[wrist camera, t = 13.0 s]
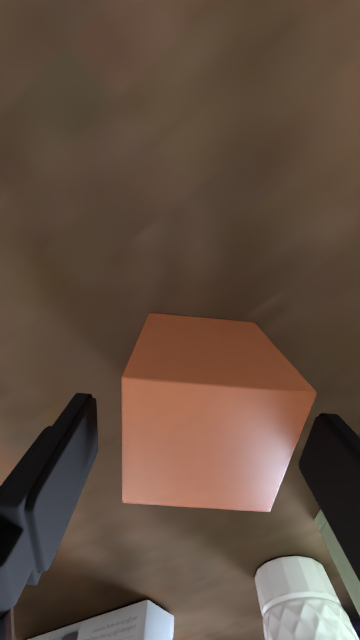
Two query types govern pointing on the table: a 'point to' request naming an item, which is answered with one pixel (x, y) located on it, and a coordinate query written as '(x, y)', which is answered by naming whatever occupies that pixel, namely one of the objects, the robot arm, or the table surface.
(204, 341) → the plain salmon cube
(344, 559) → the cabinet
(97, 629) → the skincare box
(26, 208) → the table surface
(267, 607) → the white cup
